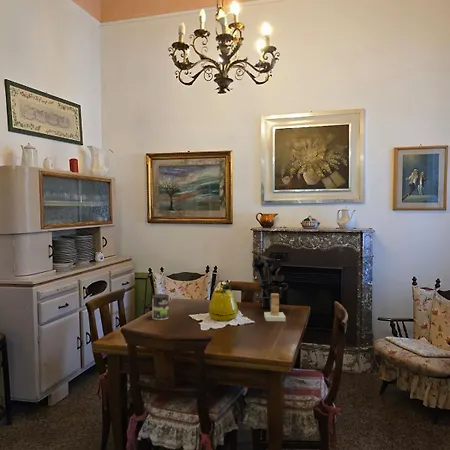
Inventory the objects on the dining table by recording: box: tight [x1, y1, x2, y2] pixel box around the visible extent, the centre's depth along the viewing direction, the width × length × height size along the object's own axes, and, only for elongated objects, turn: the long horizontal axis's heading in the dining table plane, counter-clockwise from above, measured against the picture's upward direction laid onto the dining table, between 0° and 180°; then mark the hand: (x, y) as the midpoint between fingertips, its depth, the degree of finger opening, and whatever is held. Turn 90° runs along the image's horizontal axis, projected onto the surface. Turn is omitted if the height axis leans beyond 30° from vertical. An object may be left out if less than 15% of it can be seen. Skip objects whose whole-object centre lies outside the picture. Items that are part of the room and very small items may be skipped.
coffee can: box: [151, 293, 170, 321], centre depth 270 cm, size 10×10×14 cm
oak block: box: [270, 292, 280, 316], centre depth 271 cm, size 4×4×13 cm
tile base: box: [263, 311, 287, 322], centre depth 272 cm, size 12×12×2 cm
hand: (274, 297), depth 279 cm, fingers open, 9 cm apart
